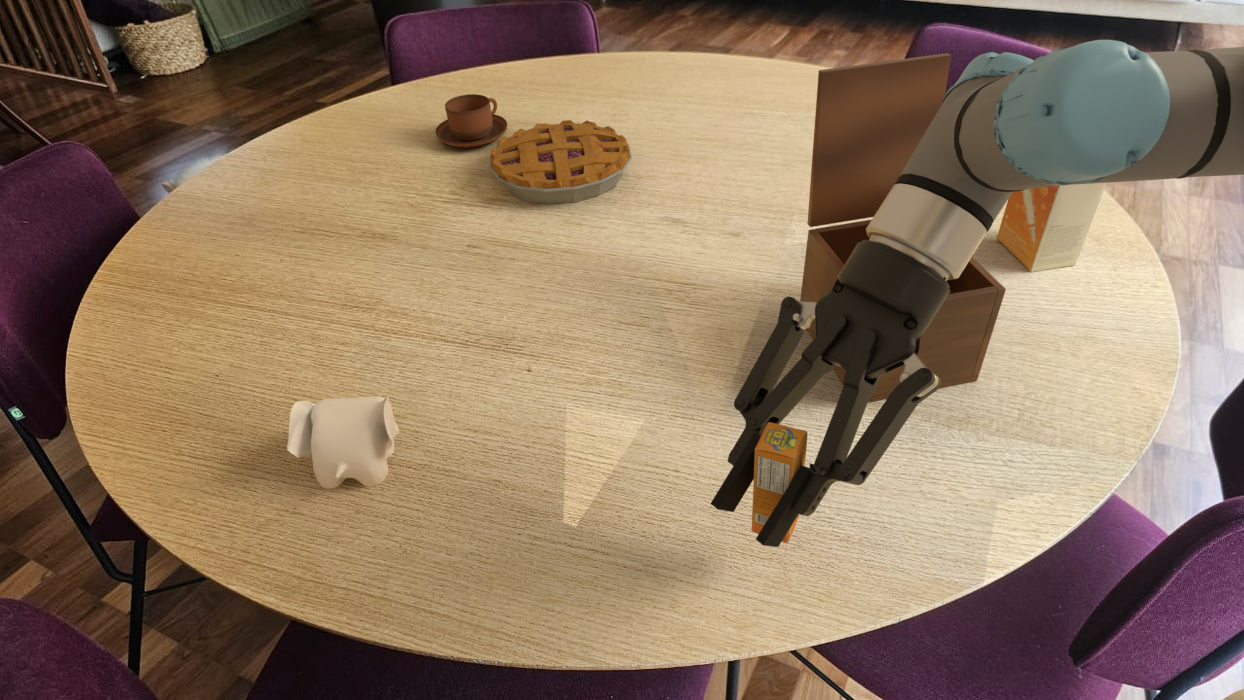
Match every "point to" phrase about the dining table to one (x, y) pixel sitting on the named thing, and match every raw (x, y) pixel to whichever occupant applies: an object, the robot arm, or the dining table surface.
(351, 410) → the elephant figurine
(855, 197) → the lid
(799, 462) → the supplement box
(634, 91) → the dining table surface
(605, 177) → the pie
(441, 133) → the cup and saucer
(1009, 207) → the small box
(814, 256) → the chest
